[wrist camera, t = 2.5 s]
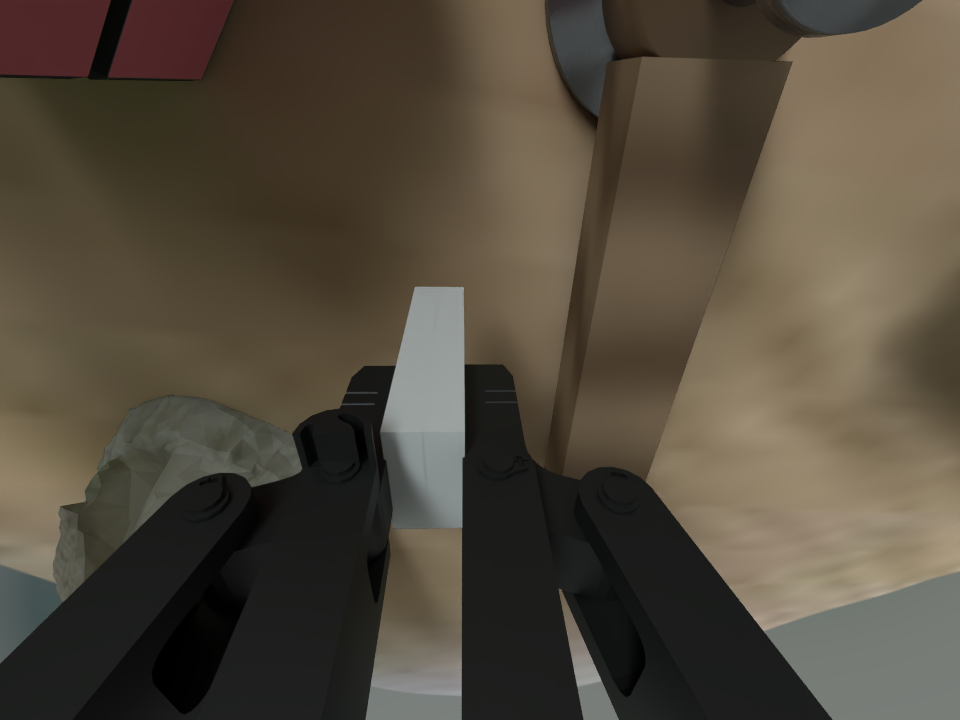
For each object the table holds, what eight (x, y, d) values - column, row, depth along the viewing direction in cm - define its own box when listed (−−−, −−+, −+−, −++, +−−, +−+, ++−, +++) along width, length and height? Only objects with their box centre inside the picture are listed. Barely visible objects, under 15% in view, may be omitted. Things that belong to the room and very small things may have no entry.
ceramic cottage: (162, 358, 19) (-317, 865, 8) (434, 498, 27) (409, 870, 15) (67, 505, 26) (-269, 901, 14) (306, 585, 33) (218, 892, 21)
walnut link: (621, -154, 11) (671, -227, 8) (808, -143, 11) (912, -211, 8) (532, 488, 24) (541, 534, 22) (618, 486, 24) (636, 532, 22)
